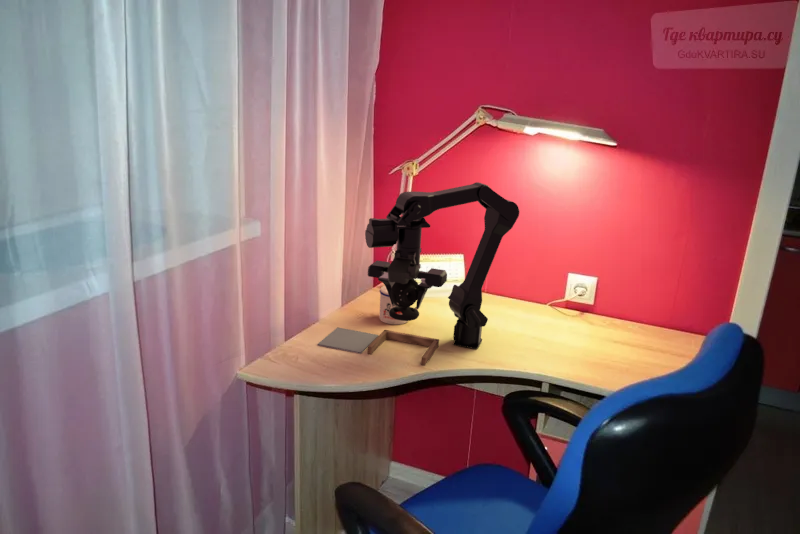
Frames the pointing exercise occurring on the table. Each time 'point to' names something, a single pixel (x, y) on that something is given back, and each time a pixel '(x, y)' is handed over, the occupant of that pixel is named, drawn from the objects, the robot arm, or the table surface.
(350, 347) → the mat
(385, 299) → the teacup with lid
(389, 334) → the holder
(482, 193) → the robot arm
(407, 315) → the webcam
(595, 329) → the table surface
